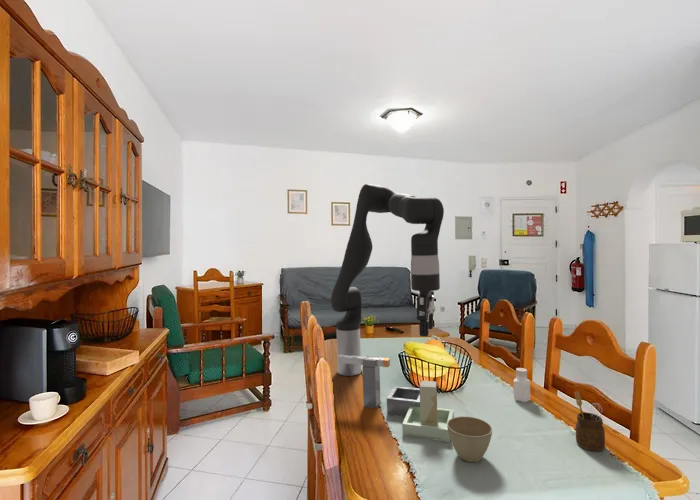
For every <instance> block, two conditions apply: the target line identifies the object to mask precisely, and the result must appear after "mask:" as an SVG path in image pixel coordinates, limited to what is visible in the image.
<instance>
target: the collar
mask: <svg viewBox="0 0 700 500" xmlns="http://www.w3.org/2000/svg"><path fill="white" fill-rule="evenodd" d="M410 406H413V407H420V388H418V387H417V388H416V387H415V388H414V387H406V386H397V385H396V386H395V385H394V386H393V387H392V389H391V391H390V392H389V394H388V395H387V397H386V414H389V415H395V416H396V415H397V416H403V417H406V415H407V412H408V410H409V408H410Z"/></svg>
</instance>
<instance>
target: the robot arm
mask: <svg viewBox="0 0 700 500" xmlns="http://www.w3.org/2000/svg"><path fill="white" fill-rule="evenodd" d="M359 190H360V191H359V194H358V198H357V202H356V208H355V214H354V219H353V223H352V227H351V231H350V234H349V238H348V241H347V244H346V248H345V252H344V257H343V261H342V263H341V267H340V271H339V274H338V276H337V279H336V281H335V284H334V286H333V289H332V292H331V297H330V306H331V308H332V310H333V311H334V312H337V313H344V312H345V314H344V316H342V317H341V318H340V319H338V320H337V321H336V325H335V326H336V328H335V329H336V330H335V331H336V355H337V356H336V357H337V363H336V365H337V374H339V375H341V376H345V377H346V376H349V377H350V376H351V377H352V376H358V375H359V374H361V373H362V365H357V364H345V363H338V356H339V355H351V356H362V352H361V349H362V348H361V322H362V306H363V305H362V295H361V291H360V289H359V288H357V287H355V286H352V284H353V282H354V281H355V280H356V279H357V278H358V276H359V275H360V274H361V273H362V272H363V271H364V270H365V268H366V267H367V265H368V264H369V261H370V258H371V255H372V251H373V241H372V238H371V236H370V232H369V230H368V225H367V219H368V214H369V212H370V213H375V214H376V213H377V214H384V213H391V214H392V215H394V216H395V217H398V218H401V219H403V220H404V221H405V222H406V223H407V224H412V225H425V227H424V229H423V231H421V232H418V233H415V234H412V236H411V239H410V246H411V247H410V249H411V250H410V251H411V259H410V282H411V285H410V288H411V290H413V291H415V292H419V295H418V296H417V297H416V298H415V300H416V320H417V321H418V324H419V325H418V326H419V331H418V332H419V336H420V337H428V336H429V330H432V329H433V328H434V319H433V317H434V316H433V315H434V312H435V296H434V295H435V291H438V290H440V288H441V287H440V286H441V283H440V282H441V281H440V280H441V279H440V278H441V277H440V275H441V274H440V260H439V245H438V244H439V243H438V241H439V236H440V232H441V227H442V224H443V223H442V222H443V219H444V213H445V210H444V205H443V203H442V201H441V200H440V199H439V198H436V197H418V196H414V195H412V194H408V193H401V192H400V193H398V192H396V191H394V190H393V189H391V188H389V187H387V186H383V185H378V184H377V185H376V184H370V183H365V184H363V185H362V186H361V188H360V189H359Z"/></svg>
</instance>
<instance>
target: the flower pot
mask: <svg viewBox="0 0 700 500" xmlns="http://www.w3.org/2000/svg"><path fill="white" fill-rule="evenodd" d="M447 427H448V433H449V436H450V443H451V444H452V447H453V448H454V450H455V452H456V454H457V456H458V457H459V458H460V459H461V460H463V461H465V462H469V463H477V462H479V461H481V459H482V458H483V457H484V456H485V454H486V452H487V450H488V449H489V446H490V442H491V441H492V440H491V439H492V435H493V427H492V426H491V424H490V423H488V422H487V421H485V420H484V419H480V418H477V417H472V416H463V415H462V416H456V417H455V416H454V418H452V419H450V420H449V421H448V422H447Z"/></svg>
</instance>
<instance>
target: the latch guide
mask: <svg viewBox="0 0 700 500" xmlns="http://www.w3.org/2000/svg"><path fill="white" fill-rule="evenodd" d="M365 357H377V358H380V357H379V356H374V355H366V356H365ZM380 367H381V366H376V360H370V359H363V365H362V366H361V369H362V392H363V395H362V396H363V397H362V399H363V407H364V408H369V409H377V408H378V407H379V404H380V403H381V375H380V373H381V372H380V371H381V370H380Z"/></svg>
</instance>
